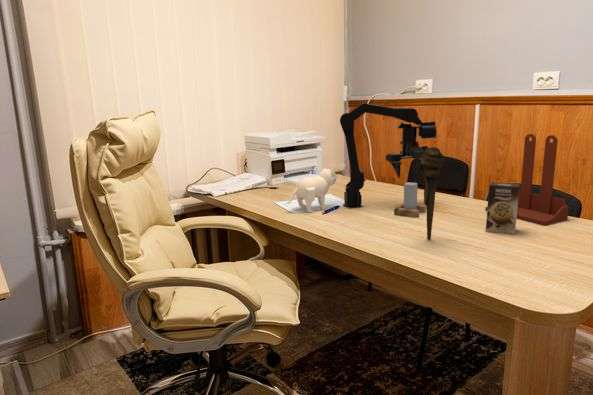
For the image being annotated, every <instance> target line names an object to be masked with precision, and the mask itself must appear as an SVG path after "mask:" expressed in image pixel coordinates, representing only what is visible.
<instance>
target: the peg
mask: <svg viewBox="0 0 593 395" xmlns="http://www.w3.org/2000/svg"><path fill="white" fill-rule="evenodd" d="M403 203H404V208H406V209H414V210H417V204H418V183H417V182H408V181H407V182H405V183H404V184H403Z"/></svg>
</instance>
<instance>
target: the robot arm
mask: <svg viewBox="0 0 593 395" xmlns="http://www.w3.org/2000/svg"><path fill="white" fill-rule="evenodd" d="M365 113H367V114H373V115H378V116H386V117H392V118H395V119H398V120H400V121H403V122H405V123H403V122H400V124H399V125H397V126H396V127H397V128H398V129H402V131H401V141H399V142H400V143H399V144H400V145H401V151H399V153H398V152H397V153H396V152H393V153H387V154H386V156H385V161H386V162H388V163H390V164H391V165H392V167H393V170H394V172H395V174H396V177H397V178H399V179H400V178H401V166H402V163H403V161H402V160H403V159H404V160H405V159H414V160H415V172H416V176H420V174H421V173H422V170H421V158H422V155H423V154H424V152H425V151H426V150H427V149H428V148H430V147H429V146H428V145H423V146H420V145H419V144H420V143H419V141H418V140H417V137H420V139H421V140H422V139H423V140H424V139H425V140H427V139H428V140H429V139H436V138H437V132H438V130H437V126H436V121H434V120H433V121H422V120H421V119H420V117H419V112H418V111H417V109H416V108H413V107H390V106H386V105H385V106H384V105H378V104H372V103H367V102H361V103H360V104H359V105H358V106H356V107H355V108H353V110H351V111H349V112H344V113H343V114H341V115H340V117H339V124H340V126H341V129H342V132H343V134H344V137H345V143H346V149H347V154H348V155H347V156H348V162H349V168H350V171H349V173H350V176H349V178H350V180H349V181H348V182H347V183H346V184H345V187H344V188H345V191H344V192H343V194H344V195H343V197H344V200H343V201H344V203H342V206H344V207H346V208H348V209H353V208H362V207H363V205H362V201H363V200H362V193H361V191H360V190H361V189H363V187H364V186H365V182H366V178H365V170H364V169H361V168H360V166H359V159H358V153H357V147H356V141H355V121H356V120H357V119H359V118H360V117H361V116H363V115H364V114H365ZM412 123H413V124H414V125H412Z"/></svg>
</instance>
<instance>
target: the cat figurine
mask: <svg viewBox="0 0 593 395" xmlns="http://www.w3.org/2000/svg"><path fill="white" fill-rule="evenodd" d="M337 179H338V176H337V175H336V172H335V171H334V170H333V169H330V168H325V167H323V168H322V170H321V171H320V172H319V173H318V175H315V176H313V177H310V178H309V177H304V178H302V179H300V180H299V181H298V182H297V183H296V185H295V188H294V190H293V192H292V193H291V195H290V197H289V200H288V201H287V202H285V204H286V205H289V204H291V203H292V201H293V199H294V196H295V195H296V199H297V200H296V201H297V203H298V205H299V208H301V209H306V211H307V213H314V209H312V208H311V207H312V203H313V202H314V201H315V200H316V198H317V201H318V205H319V207H320V209H322V210H327V207H326V204H325V202H326V201H325V199H326V198H325V197H326V195H327V193H328V191H329V188H330V187H331V186H332V185H334V184H336V182H337ZM304 202H305V204H304Z"/></svg>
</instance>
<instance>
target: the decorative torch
mask: <svg viewBox="0 0 593 395" xmlns="http://www.w3.org/2000/svg"><path fill="white" fill-rule="evenodd" d="M444 161H445V156H444V155H443V153H442V152H441V150H440V148H438V147H434V146H432V147H429V148H428V149H427V150H426V151H425V152H424V154H423V155H422V158H421V173H422V176H423V178H424V189H423V203H424V205H426V239H427V240H429V241H430V240H431V239H432V229H433V219H434V209H435V200H436V191H437V183H438V182H437V181H438V176H439V175H440V171H441V168H442V167H443V165H444Z"/></svg>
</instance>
